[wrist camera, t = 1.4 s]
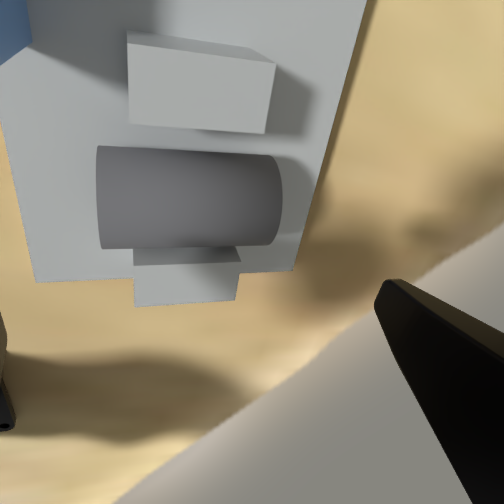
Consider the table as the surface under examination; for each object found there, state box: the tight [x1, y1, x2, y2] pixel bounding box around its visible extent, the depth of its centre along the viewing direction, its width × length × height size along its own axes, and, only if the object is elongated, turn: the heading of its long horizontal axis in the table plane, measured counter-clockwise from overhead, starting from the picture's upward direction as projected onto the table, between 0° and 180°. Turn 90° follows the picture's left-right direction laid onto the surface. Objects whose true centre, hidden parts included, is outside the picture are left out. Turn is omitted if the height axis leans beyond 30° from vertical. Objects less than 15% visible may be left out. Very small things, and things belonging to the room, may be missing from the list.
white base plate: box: [0, 0, 367, 307], centre depth 12 cm, size 18×12×5 cm, turn 170°
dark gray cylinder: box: [96, 145, 283, 249], centre depth 14 cm, size 6×4×4 cm, turn 80°
